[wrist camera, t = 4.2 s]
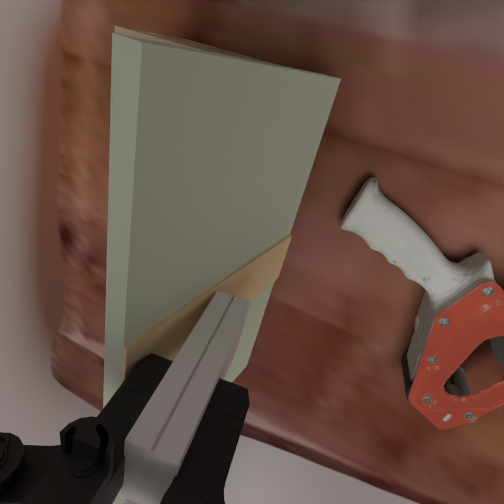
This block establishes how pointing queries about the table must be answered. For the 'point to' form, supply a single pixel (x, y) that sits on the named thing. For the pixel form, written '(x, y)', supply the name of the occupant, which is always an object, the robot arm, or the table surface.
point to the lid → (200, 191)
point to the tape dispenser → (437, 311)
